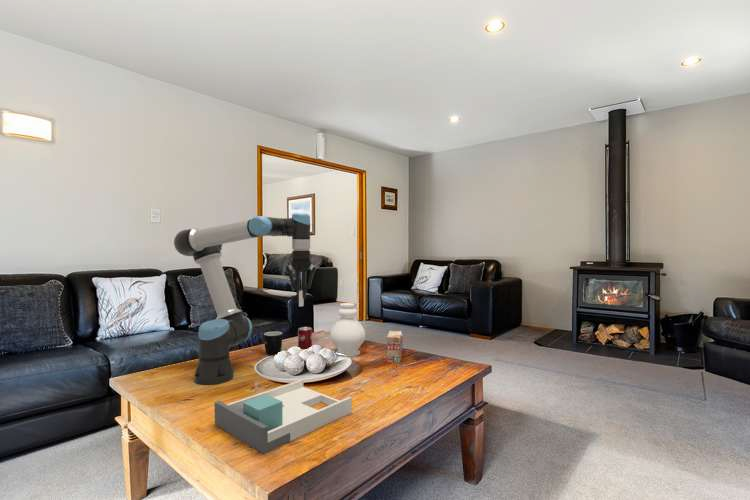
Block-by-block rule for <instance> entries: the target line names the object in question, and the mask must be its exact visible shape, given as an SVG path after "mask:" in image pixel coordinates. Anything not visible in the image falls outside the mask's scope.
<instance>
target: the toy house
mask: <svg viewBox="0 0 750 500" xmlns="http://www.w3.org/2000/svg"><path fill="white" fill-rule="evenodd" d="M403 342H404V341H403V333H402V331H401V330H389V331H388V334H387V336H386V363H389V364H391V363H395V364H400V363H401V361H402V355H403V345H404V344H403Z"/></svg>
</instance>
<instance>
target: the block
mask: <svg viewBox="0 0 750 500" xmlns="http://www.w3.org/2000/svg"><path fill="white" fill-rule="evenodd" d="M243 414H245V415H247V416H249V417H251V418H253V419H255V420H257V421H259V422H260V423H262V424H264V425H266V426H268V431H269V430H272V429H274V428H276V427H279V426H281V425H283V424H282V401H280V400H278V399H276V398H273V397H271V396H269V395H264V396H261V397H258V398H255V399H252V400H249V401H247V402H244V403H243Z"/></svg>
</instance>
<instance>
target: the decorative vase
mask: <svg viewBox="0 0 750 500" xmlns="http://www.w3.org/2000/svg"><path fill="white" fill-rule="evenodd" d="M339 305H340V306H341V308H339V309H338V311H337V312H338V315H339V316H340V318H339V319H338V320H337V321H336V322H335V323H334V325H333V326H332V328H331V330H330V334H329V338H330V341H331V342H332V344H333V345H334V346H335V348H336V351H335V352H337V353H341V354H344V355H346V356H349V357H357V356H359V355H360V354H361V350H360V349H359V348H360V347H361V345H362V344H363V343H364V341H365V340H366V331H365V327H363V325H362V324H361V322H360V321H358V320H357V319H356V318H355V317H356V315H357V314H358V310H357V309H356V308H355V306H356V303H355V302H343V303H340V304H339Z"/></svg>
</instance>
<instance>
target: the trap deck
mask: <svg viewBox="0 0 750 500" xmlns="http://www.w3.org/2000/svg"><path fill="white" fill-rule="evenodd" d="M264 395H269V396H271V397H273V398H276V399H278V400H280V401H282V424H283V425H281V426H279V427H276V428H274V429H272V430H269V431H268V426H266V425H264V424H262V423H260V422H259V421H257V420H255V419H253V418H251V417H249V416H247V415H245V414H243V403H244V402H247V401H249V400H252V399H255V398H258V397H261V396H264ZM320 403H323V404H324V405H327V406H325V407H321V408H320V409H315V408H313V407H312V406H315V405H318V404H320ZM352 405H353V403H352V397H351V396H348V397H346V398H343V399H341V400H339V399H336V398H334V397H332V396H328V395H326V394H323V393H320V392H318V391H315V390H313V389H311V388H307V387H305V386H304V379H299V380H296V381H293V382H289V383H286V384H284V385H280V386H278V387H274V388H272V389H269V390H265V391H263V392H260V393H257V394H254V395H251V396H249V397H248V396H247V397H245V398H241V399H239V400H236V401H233V402H230V403H228V404H226V403H224V402H222V401H221V400H217V401H214V425H215V426H217V428H220V429H221V430H223V431H225V432H226V433H228V434H230V435H231V436H232V437H234V438H236V439H237V440H239V441H241V442H243V443H244V444H246V445H247V446H248V447H250V448H252V449H254V450H255V451H257V452H259V453H260V454H262V455H264V454H266V453H268V452H271V451H273V450H275V449H277V448H279V447H281V446H283V445H286V444H288V443H290V442H292V441H294V440H296V439H298V438H300V437H302V436H304V435H307V434H309V433H311V432H313V431H316V430H318V429H320V428H322V427H324V426H326V425H328V424H330V423H333V422H334V421H337V420H339V419H340V418H343V417H345V416H347V415H350V414H351V413H352V411H353V410H352V409H353V408H352Z"/></svg>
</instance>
